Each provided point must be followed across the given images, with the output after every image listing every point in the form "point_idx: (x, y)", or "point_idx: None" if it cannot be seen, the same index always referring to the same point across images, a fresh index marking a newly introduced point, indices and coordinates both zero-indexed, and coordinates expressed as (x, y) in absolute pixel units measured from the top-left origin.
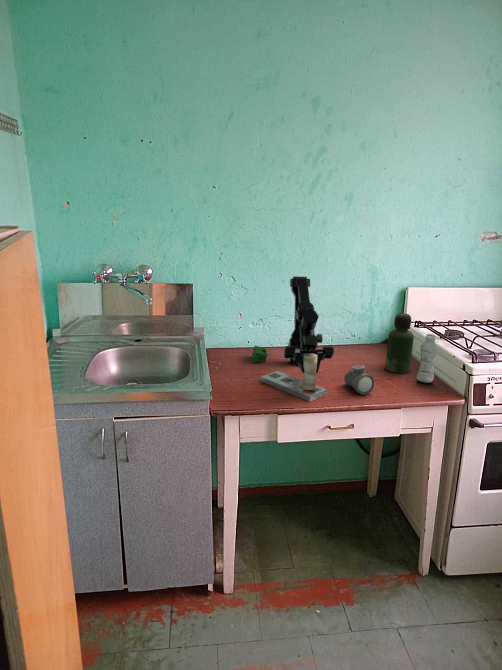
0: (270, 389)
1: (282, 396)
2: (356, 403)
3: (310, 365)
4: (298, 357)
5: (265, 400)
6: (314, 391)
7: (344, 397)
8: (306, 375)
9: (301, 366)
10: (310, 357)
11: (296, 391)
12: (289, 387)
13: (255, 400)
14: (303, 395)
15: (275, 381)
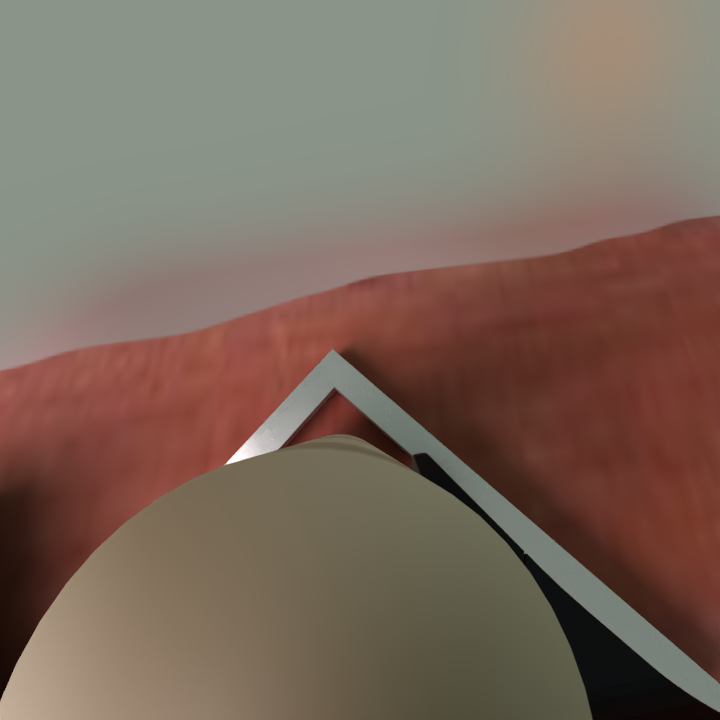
0: (596, 516)
1: (502, 411)
2: (42, 371)
3: (324, 441)
4: (684, 714)
5: (588, 340)
6: None
7: (97, 455)
8: (372, 445)
9: (474, 506)
10: (319, 474)
11: (426, 430)
12: (482, 493)
13: (641, 333)
14: (375, 388)
15: (607, 607)
